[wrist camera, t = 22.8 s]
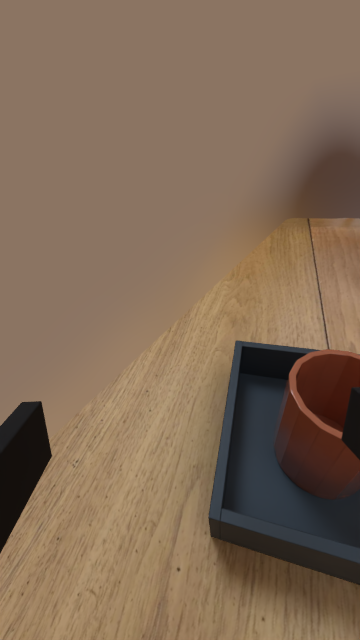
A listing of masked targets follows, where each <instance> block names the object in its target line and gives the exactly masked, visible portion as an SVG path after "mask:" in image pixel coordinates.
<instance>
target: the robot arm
mask: <svg viewBox="0 0 360 640" xmlns="http://www.w3.org/2000/svg"><path fill="white" fill-rule="evenodd" d="M341 440H342V441H343V442H344V444H345V445H346V446H347V447H348V448H349V449H350V450H351V451H352V452H353V453H354V455H355V456H356V457H357V458H358V459H359V460H360V387H352V388H351V393H350V398H349V403H348V408H347V413H346V418H345V423H344V428H343V433H342V438H341ZM51 457H52V454H51V449H50V444H49V439H48V433H47V428H46V424H45V418H44V413H43V408H42V403H41V401H39V402H22V403H21V404H20V405H19V406H18V407H17V408H16V409H15V411H14V412H13V413H12V414H11V415H10V416H9V417H8V418H7V419H6V421H5V422H4V423H3V424H2V425H1V426H0V553H1V551H2V549H3V547H4V545H5V543H6V541H7V539H8V538H9V536H10V534H11V532H12V530H13V528H14V526H15V524H16V523H17V521H18V519H19V517H20V515H21V513H22V511H23V509H24V507H25V506H26V504H27V502H28V500H29V498H30V496H31V494H32V492H33V491H34V489H35V487H36V485H37V483H38V481H39V479H40V477H41V476H42V474H43V472H44V470H45V468H46V466H47V464H48V462H49V460H50V459H51Z"/></svg>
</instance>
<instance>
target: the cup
mask: <svg viewBox="0 0 360 640" xmlns="http://www.w3.org/2000/svg"><path fill="white" fill-rule="evenodd" d="M352 387H360V355H358V354H355V353H352V352H348V351H339V350H330V349H329V350H328V349H327V350H321V351H315V352H310V353H308V354H306V355H305V356H303V357H301V358H300V359H298V360H297V361H296V362H295V364H294V366H293V367H292V369H291V371H290V373H289V376H288V380H287V383H286V387H285V391H284V395H283V399H282V402H281V406H280V410H279V414H278V418H277V421H276V425H275V429H274V436H273V448H274V453H275V456H276V459H277V461H278V463H279V465H280V466H281V468H282V470H283V471H284V472H285V474H286V475H287V476H288V477H289V478H290V479H291V480H292V481H293V482H294V483H295V484H296V485H297V486H299V487H300V488H301V489H303V490H305V491H306V492H308V493H310V494H312V495H315V496H317V497H320V498H325V499H332V500H337V499H344V498H347V497H350V496H352V495H353V494H355V493H356V492H357V491H358V490H359V489H360V460H359V459H358V458H357V457H356V456H355V455H354V453H353V452H352V451H351V450H350V449H349V448H348V447H347V446H346V445H345V444H344V442H343V441H342V440H341V438H342V433H343V428H344V423H345V418H346V413H347V408H348V403H349V398H350V393H351V388H352Z"/></svg>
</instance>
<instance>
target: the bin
mask: <svg viewBox="0 0 360 640" xmlns="http://www.w3.org/2000/svg"><path fill="white" fill-rule="evenodd" d="M315 351H321V350H315V349H306V348H297V347H288V346H279V345H271V344H262V343H253V342H244V341H236V343H235V349H234V356H233V362H232V369H231V375H230V382H229V388H228V394H227V401H226V407H225V414H224V420H223V427H222V433H221V440H220V446H219V453H218V459H217V465H216V472H215V478H214V485H213V491H212V498H211V504H210V511H209V525H210V533H211V537H214V538H217V539H220V540H223V541H226V542H229V543H232V544H235V545H238V546H241V547H244V548H248V549H251V550H254V551H257V552H260V553H263V554H266V555H269V556H272V557H275V558H278V559H282V560H285V561H288V562H291V563H294V564H297V565H300V566H303V567H306V568H309V569H312V570H315V571H319V572H322V573H325V574H328V575H331V576H334V577H337V578H340V579H343V580H346V581H349V582H353V583H356V584H359V585H360V489H359V490H358V491H357V492H356V493H355V494H353V495H352V496H350V497H347V498H344V499H337V500H332V499H325V498H320V497H317V496H315V495H312V494H310V493H308V492H306V491H305V490H303V489H301V488H300V487H299V486H297V485H296V484H295V483H294V482H293V481H292V480H291V479H290V478H289V477H288V476H287V475H286V474H285V472H284V471H283V470H282V468H281V466H280V465H279V463H278V461H277V459H276V456H275V453H274V448H273V436H274V429H275V425H276V421H277V418H278V414H279V410H280V406H281V402H282V399H283V395H284V391H285V387H286V383H287V380H288V376H289V373H290V371H291V369H292V367H293V366H294V364H295V362H296V361H297V360H298V359H300V358H301V357H303V356H305V355H306V354H308V353H310V352H315ZM358 355H359V354H358Z"/></svg>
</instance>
